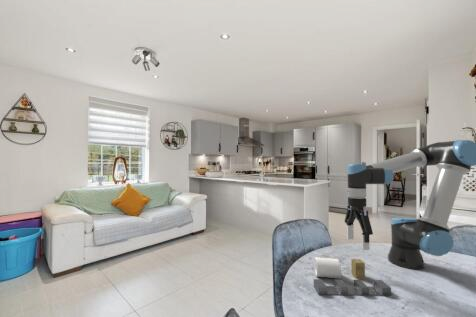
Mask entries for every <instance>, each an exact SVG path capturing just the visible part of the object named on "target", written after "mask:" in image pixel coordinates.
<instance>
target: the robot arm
mask: <svg viewBox="0 0 476 317" xmlns="http://www.w3.org/2000/svg"><path fill="white" fill-rule="evenodd" d="M428 166H436V167H437V169H438V171H437V174H436V177H435V179H434V184H433V186H432V189H431V192H430V195H429V198H428V200H427V204H426V207H425V208H424V209H425V210H424V213H423V216H420V217H418V218H414V217H404V216H403V217H400V216H398V217H397V216H396V217H393V218H391V223H390V226H391V227H390V228H391V230H390V231H391V247H390V248H389V252H388V253H387V260H388V262H390V263H392V264H393V265H395V266H398V267H402V268H406V269H409V270H410V269H412V270H421V269H424V268H425V261H424V258H423V255H422V253H423V252H424V253H425V254H428V255H431V256H435V257H442V256H444V255H447V254H448V253H449V252H451V250H452V249H453V247H454V239H453V236H452V235H451V234H450V231H451V228H450V227H449V226H448V222H449V219H450V216H451V213H452V210H453V208H454V204H455V201H456V198H457V196H458V192H459V189H460V186H461V184H462V179H463V176H464V175H466V174H468V173H470V171H471V168H472V167H474V166H476V142H475V141H473V140H470V139H457V140H456V139H455V140H449V141H441V142H439V141H438V142H434V143H431V144H428V145H425V146H422V147H419V148H416V149H413V150H411V152H410V153H405V154H401V155H399V156H398V155H397V156H396V157H392V158H389V159H385V160H382V161H378V162H375V163H372V164H369V165H366V164H365V163H349V164H348V165H347V173H346V174H347V190H346V191H347V197H348V198H347V210H346V214H345V218H344V223H346V224H345V225H347V226H346V229H347V230H346V239H347V240H354V237H355V236H354V233H355V232H354V222H355V221H358V223H359V225H360V229H361V231H362V233H361V250H363V251H370V236H371V235H373V234H374V233H373V228H372V225H371V221H370V217H369V211H368V210H364V208H365V207H367V199H366V198H367V185H383V186H384V185H389V184H392V183H393V181H394V177H395V176H394V174H395V173H400V172H402V171H406V170H409V169H413V168H416V167H418V168H425V167H428ZM421 251H422V253H421Z"/></svg>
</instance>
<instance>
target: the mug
mask: <svg viewBox="0 0 476 317" xmlns="http://www.w3.org/2000/svg"><path fill="white" fill-rule="evenodd" d="M340 262H341V261H340V259H339V258H331V257H329V258H328V257H319V256H318V257H316V256H315V258H314V273H315V276H316V277H321V278H327V279H328V278H330V279H338V280H341V277H342V268H341V263H340Z"/></svg>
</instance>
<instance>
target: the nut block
mask: <svg viewBox="0 0 476 317" xmlns="http://www.w3.org/2000/svg"><path fill="white" fill-rule="evenodd" d="M350 261H351V275H352V276H353V277H354V278H355V280H365V279H366V263H365V262H364V261H363V260H362V259H360V258H351V260H350Z"/></svg>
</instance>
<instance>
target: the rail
mask: <svg viewBox="0 0 476 317" xmlns="http://www.w3.org/2000/svg"><path fill="white" fill-rule="evenodd" d="M333 279H334V282H333V283H334V284H333V285H327V284H326V283H325V282H324V280H323V279H321V278H320V279H319V278H316V279H315V278H313V288H314V289H315V292H316V293H317V295H318V296H380V297H381V296H383V297H384V296H386V297H387V296H389V297H390V296H392V287H391V286H390V285H388V284H387V282H384V280H382V279H372V285H371V286H368V285H367V284H366V283H364V281H363V280H362V279H353V286H351V285H347V284H346V283H345V282H344V281H343V280H342V279H338V278H333Z"/></svg>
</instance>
